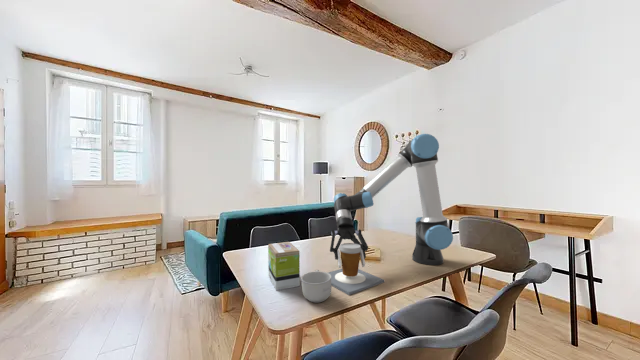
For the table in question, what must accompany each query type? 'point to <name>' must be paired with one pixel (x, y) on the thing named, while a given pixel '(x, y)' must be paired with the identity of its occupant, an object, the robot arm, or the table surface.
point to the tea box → (284, 265)
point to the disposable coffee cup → (350, 258)
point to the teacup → (316, 286)
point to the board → (353, 281)
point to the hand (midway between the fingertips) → (351, 266)
